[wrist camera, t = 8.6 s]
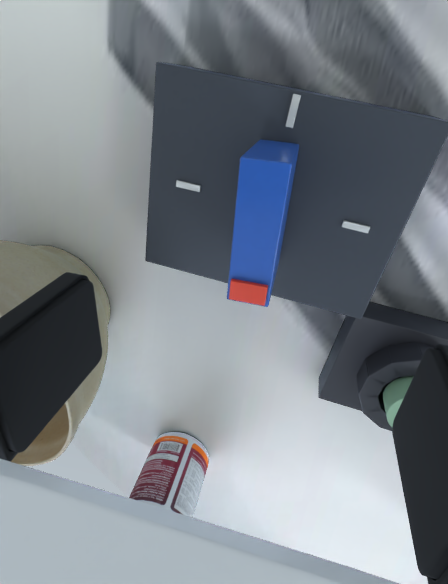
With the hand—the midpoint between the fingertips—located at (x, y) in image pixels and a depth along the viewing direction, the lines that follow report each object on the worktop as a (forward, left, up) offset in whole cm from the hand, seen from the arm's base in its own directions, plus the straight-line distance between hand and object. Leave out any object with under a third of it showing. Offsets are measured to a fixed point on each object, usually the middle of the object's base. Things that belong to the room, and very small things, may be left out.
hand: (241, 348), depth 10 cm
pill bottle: (+4, +28, -15) cm, 32 cm away
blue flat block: (+1, -1, -11) cm, 11 cm away
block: (-11, +9, -15) cm, 21 cm away
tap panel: (+1, -1, -15) cm, 15 cm away
